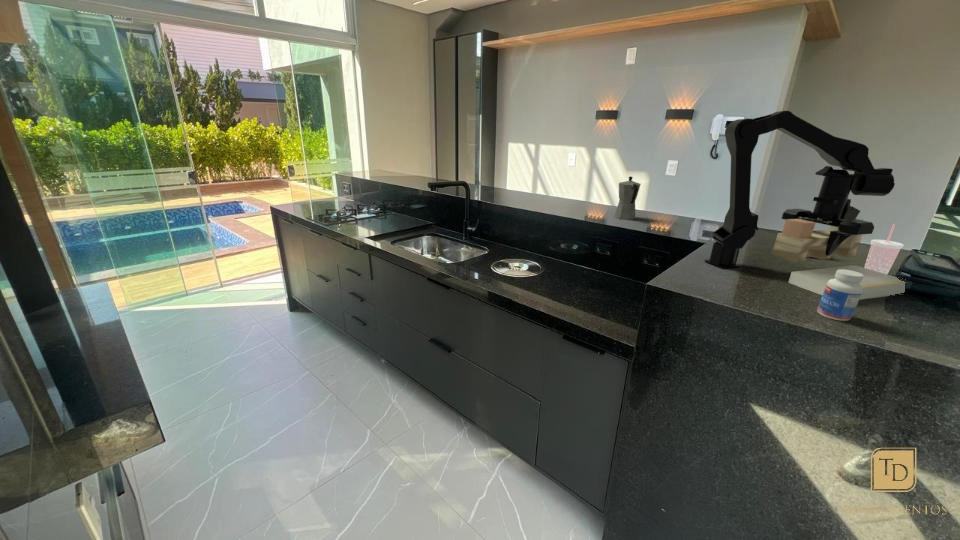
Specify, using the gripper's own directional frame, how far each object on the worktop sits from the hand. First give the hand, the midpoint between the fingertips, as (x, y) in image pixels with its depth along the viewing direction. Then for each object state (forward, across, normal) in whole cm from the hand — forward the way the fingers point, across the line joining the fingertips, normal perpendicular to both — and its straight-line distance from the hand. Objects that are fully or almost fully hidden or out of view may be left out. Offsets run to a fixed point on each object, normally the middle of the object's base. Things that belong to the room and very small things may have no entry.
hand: (814, 251), depth 102 cm
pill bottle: (+6, -22, +23) cm, 32 cm away
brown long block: (+1, 0, 0) cm, 1 cm away
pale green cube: (-5, 0, -8) cm, 10 cm away
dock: (+6, -12, +3) cm, 13 cm away
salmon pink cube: (-5, 0, +8) cm, 10 cm away
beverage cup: (+6, -6, -16) cm, 18 cm away
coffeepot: (+6, +71, +9) cm, 72 cm away
